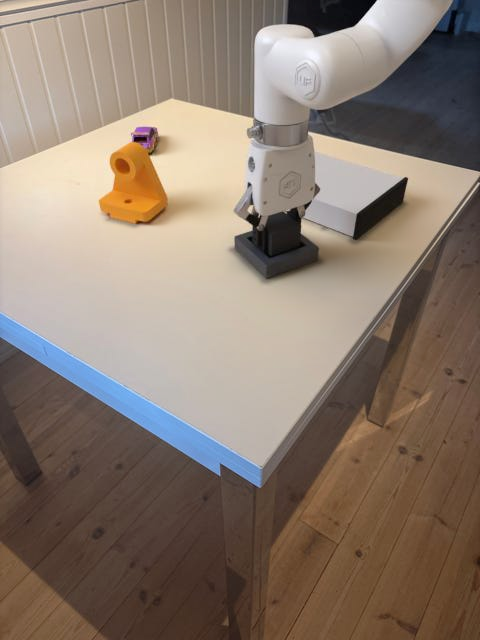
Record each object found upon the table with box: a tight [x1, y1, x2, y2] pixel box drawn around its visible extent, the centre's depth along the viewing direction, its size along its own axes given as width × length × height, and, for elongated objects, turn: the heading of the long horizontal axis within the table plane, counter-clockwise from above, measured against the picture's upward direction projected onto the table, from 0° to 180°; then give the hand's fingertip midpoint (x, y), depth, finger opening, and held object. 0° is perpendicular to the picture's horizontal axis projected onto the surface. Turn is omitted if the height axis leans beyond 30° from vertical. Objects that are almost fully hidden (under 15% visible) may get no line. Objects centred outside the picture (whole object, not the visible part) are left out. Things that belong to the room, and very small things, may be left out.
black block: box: [258, 211, 302, 256], centre depth 78 cm, size 6×6×4 cm
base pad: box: [233, 230, 320, 280], centre depth 80 cm, size 10×10×2 cm
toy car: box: [130, 126, 159, 154], centre depth 115 cm, size 6×12×5 cm, turn 179°
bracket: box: [98, 141, 169, 224], centre depth 88 cm, size 11×7×12 cm, turn 65°
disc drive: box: [285, 150, 409, 241], centre depth 93 cm, size 18×22×5 cm
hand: (276, 241), depth 79 cm, fingers closed on black block, 5 cm apart
